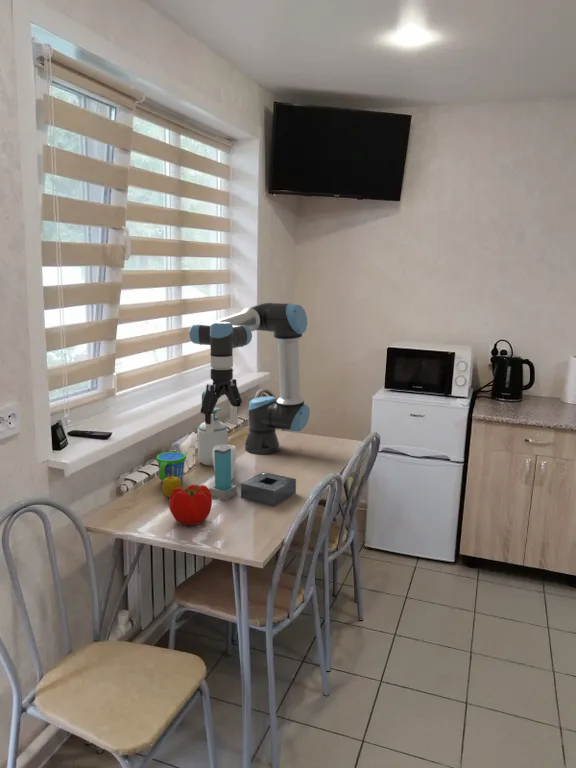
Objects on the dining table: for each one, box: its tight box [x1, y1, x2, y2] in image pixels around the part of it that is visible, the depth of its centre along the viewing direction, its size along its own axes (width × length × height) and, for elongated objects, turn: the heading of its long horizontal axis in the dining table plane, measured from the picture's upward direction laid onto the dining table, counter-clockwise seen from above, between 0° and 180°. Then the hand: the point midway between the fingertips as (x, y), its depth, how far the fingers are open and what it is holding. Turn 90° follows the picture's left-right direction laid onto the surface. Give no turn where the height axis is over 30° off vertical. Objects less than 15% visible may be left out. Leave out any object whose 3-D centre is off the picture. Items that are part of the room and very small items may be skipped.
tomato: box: [168, 484, 213, 526], centre depth 192 cm, size 13×14×12 cm
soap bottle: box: [196, 389, 229, 467], centre depth 246 cm, size 12×12×31 cm
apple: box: [162, 476, 182, 498], centre depth 212 cm, size 6×6×8 cm
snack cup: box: [156, 451, 187, 483], centre depth 226 cm, size 16×10×10 cm
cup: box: [212, 444, 237, 480], centre depth 230 cm, size 9×9×12 cm
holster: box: [208, 484, 238, 501], centre depth 214 cm, size 7×7×3 cm
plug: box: [214, 447, 232, 491], centre depth 213 cm, size 4×4×17 cm
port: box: [240, 471, 297, 507], centre depth 214 cm, size 14×14×6 cm
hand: (222, 428), depth 210 cm, fingers open, 13 cm apart
